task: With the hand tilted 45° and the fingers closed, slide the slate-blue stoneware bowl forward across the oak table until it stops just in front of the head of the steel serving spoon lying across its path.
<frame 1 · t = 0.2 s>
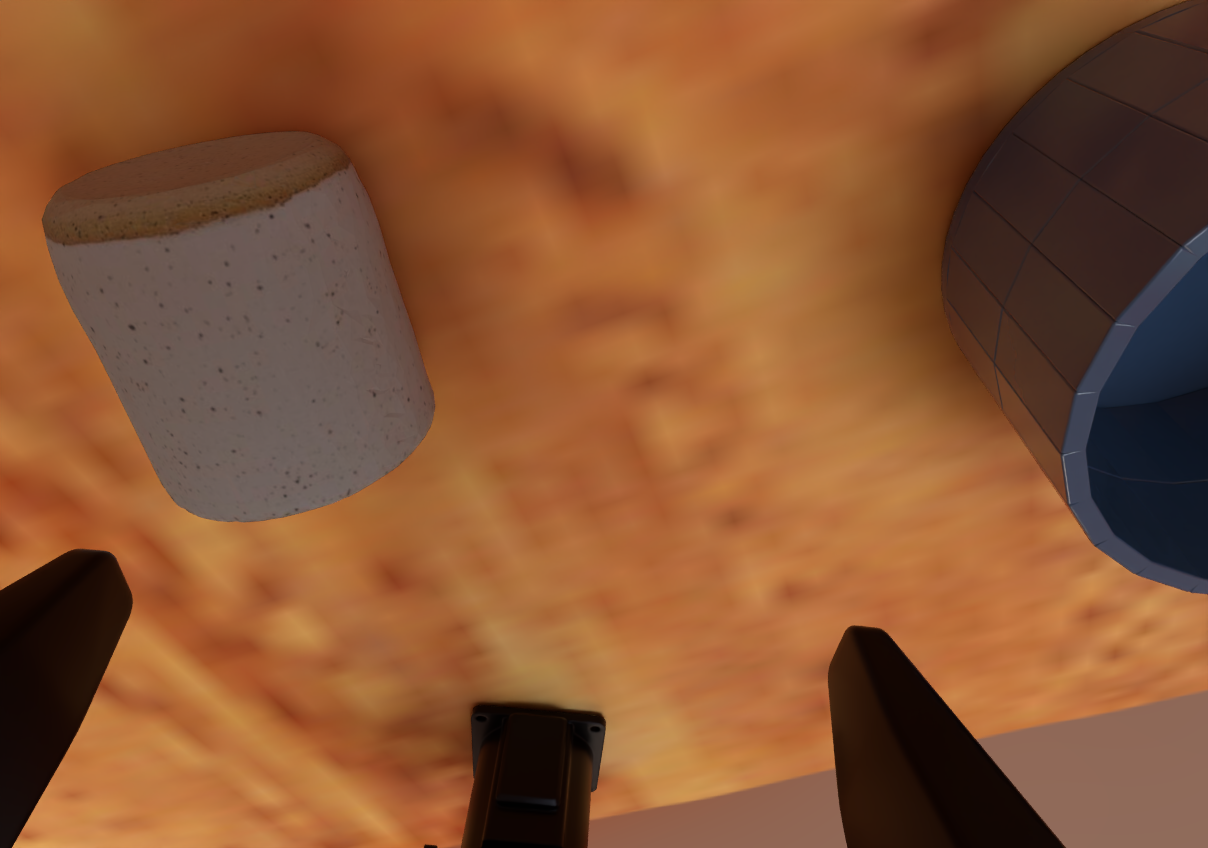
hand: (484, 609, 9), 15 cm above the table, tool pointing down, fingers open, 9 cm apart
bowl: (1165, 232, 21), on the table
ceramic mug: (275, 271, 23), on the table
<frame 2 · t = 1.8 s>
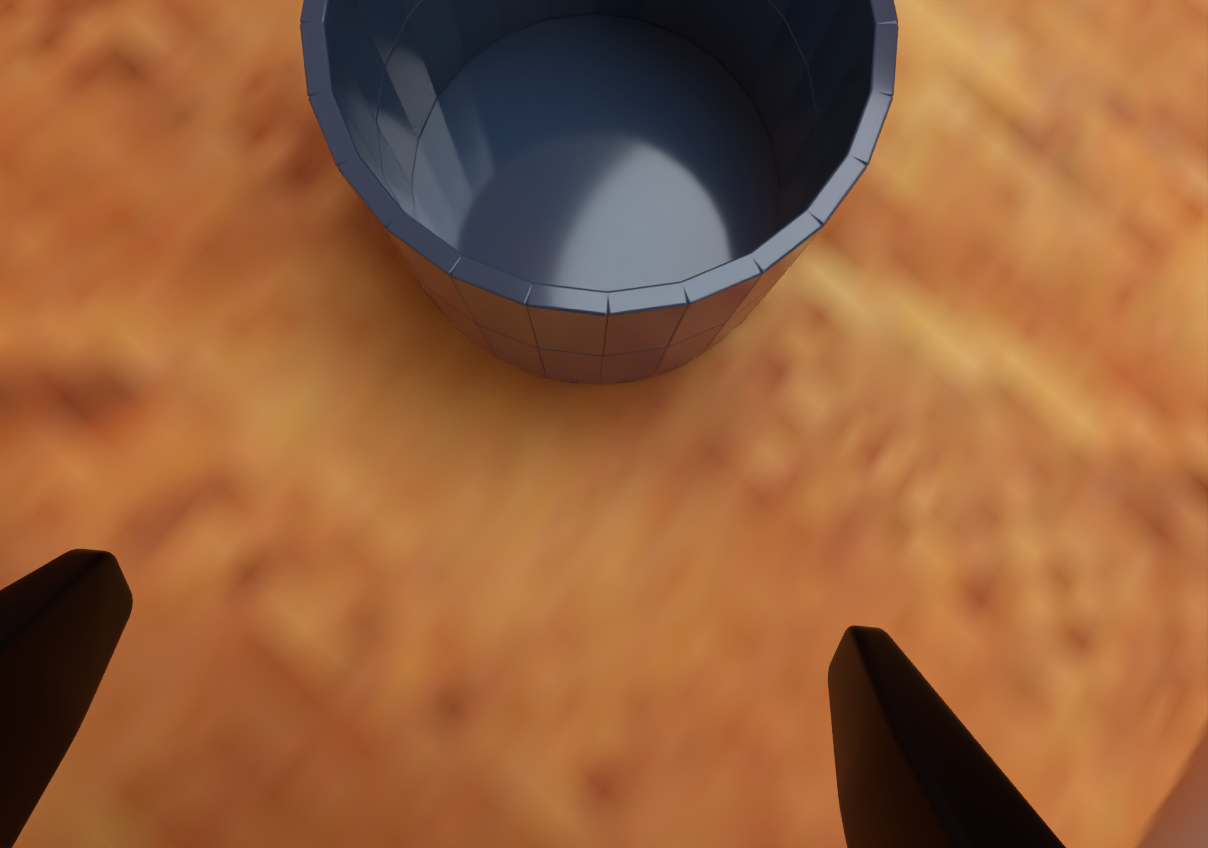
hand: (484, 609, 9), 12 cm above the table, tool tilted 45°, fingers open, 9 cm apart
bowl: (596, 193, 23), on the table
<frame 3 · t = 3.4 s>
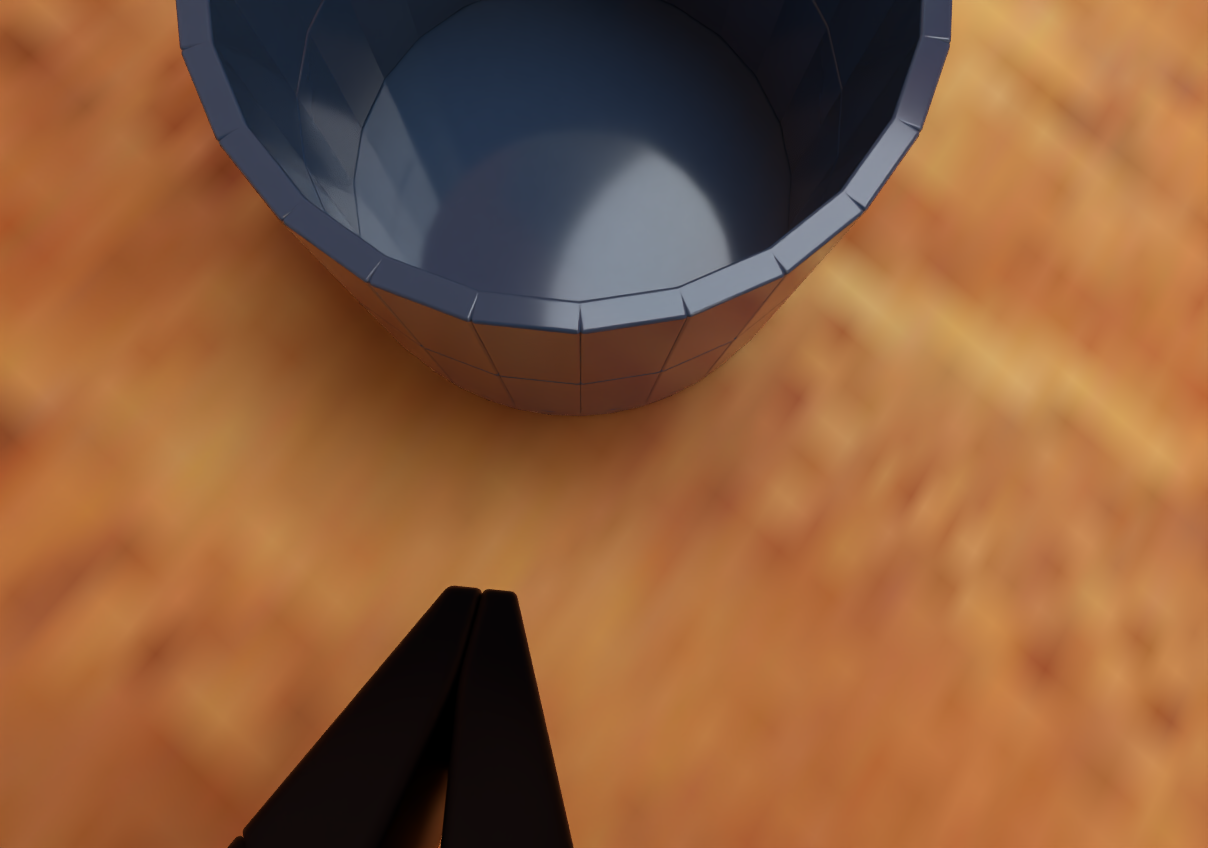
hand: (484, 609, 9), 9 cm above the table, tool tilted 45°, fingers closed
bowl: (574, 190, 19), on the table
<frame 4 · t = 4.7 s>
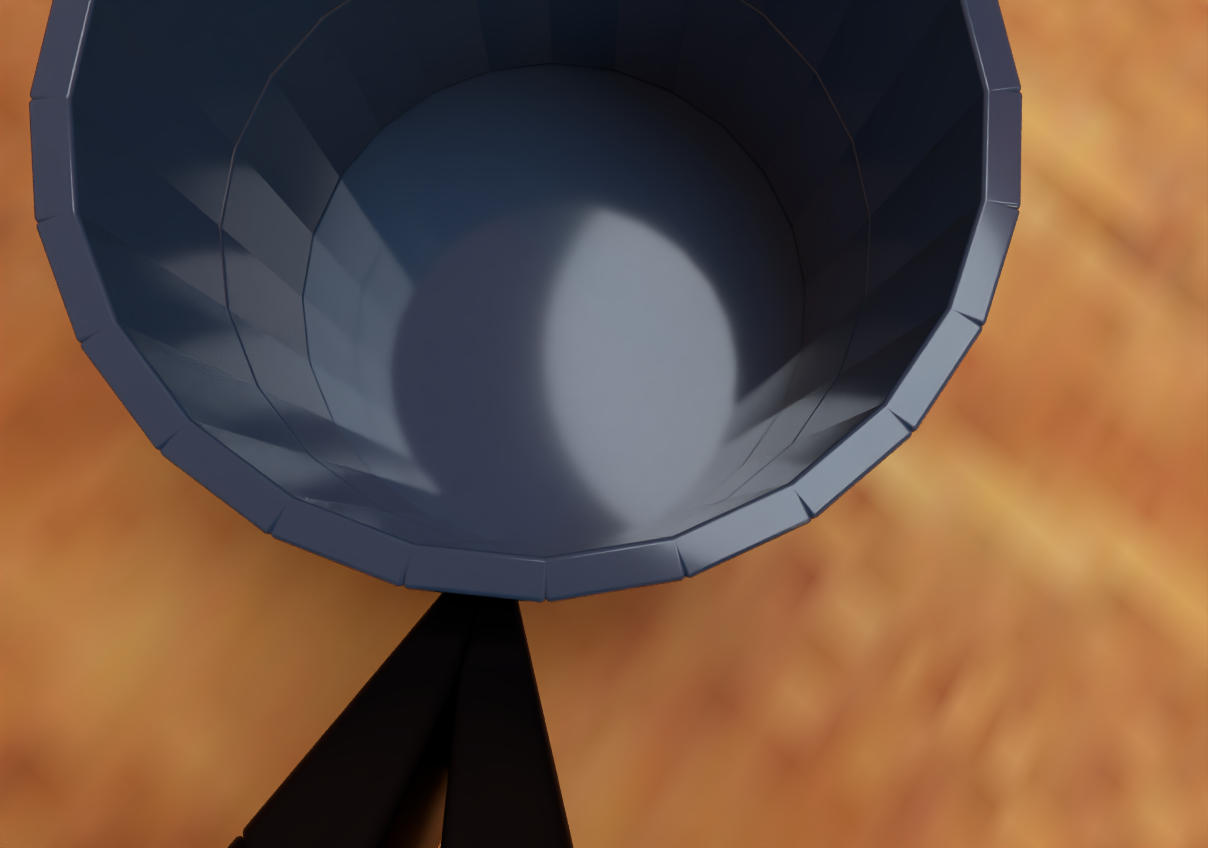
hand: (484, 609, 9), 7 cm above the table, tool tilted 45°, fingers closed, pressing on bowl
bowl: (557, 301, 17), on the table, touching gripper
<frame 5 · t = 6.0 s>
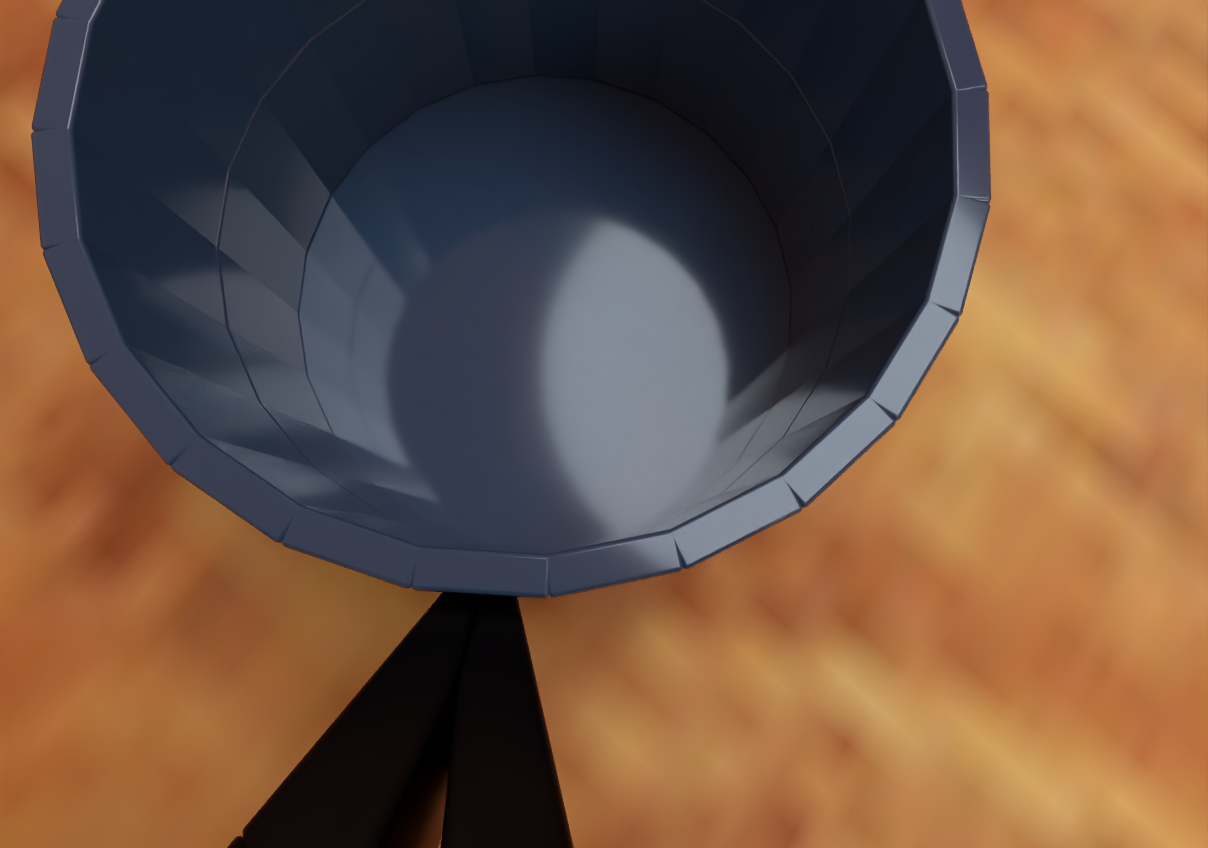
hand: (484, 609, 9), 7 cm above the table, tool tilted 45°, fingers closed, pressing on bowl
bowl: (549, 308, 17), on the table, touching gripper
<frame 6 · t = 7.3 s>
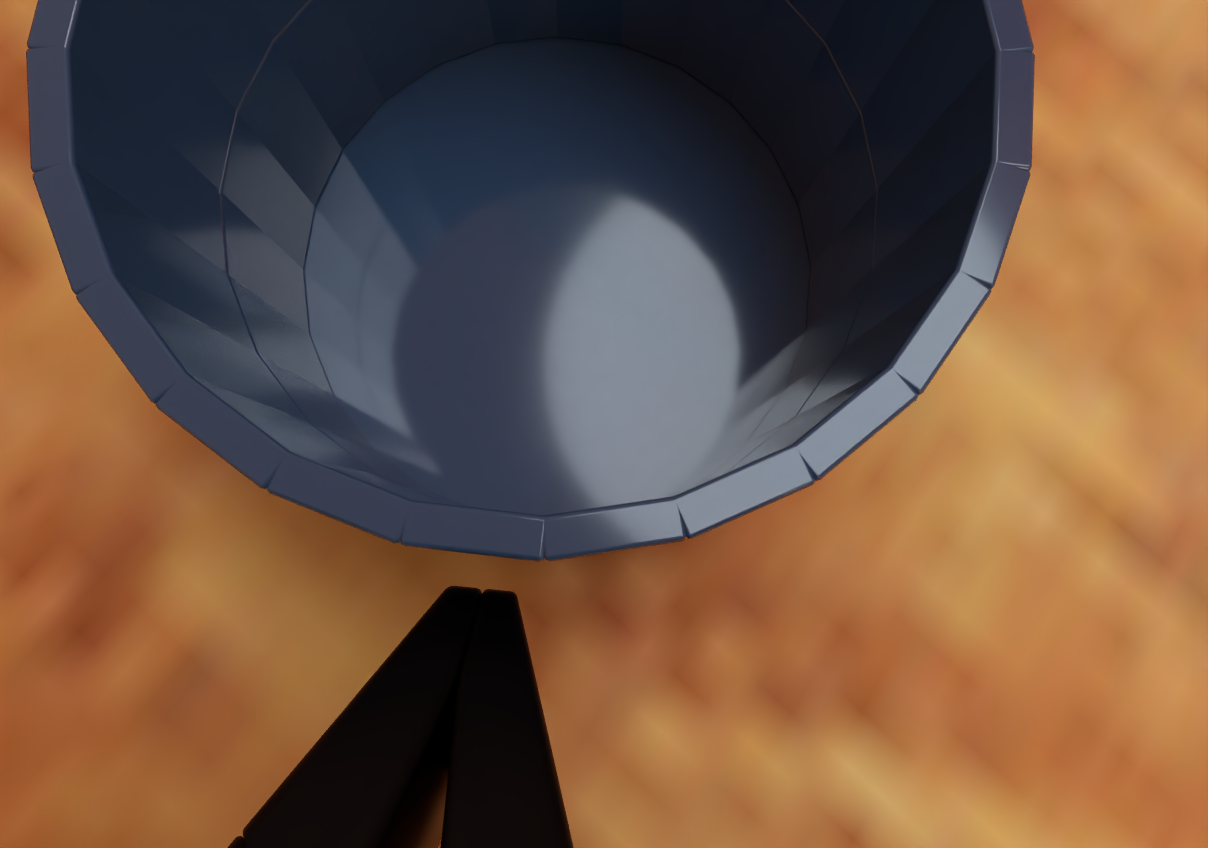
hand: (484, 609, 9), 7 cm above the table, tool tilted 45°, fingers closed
bowl: (560, 277, 17), on the table
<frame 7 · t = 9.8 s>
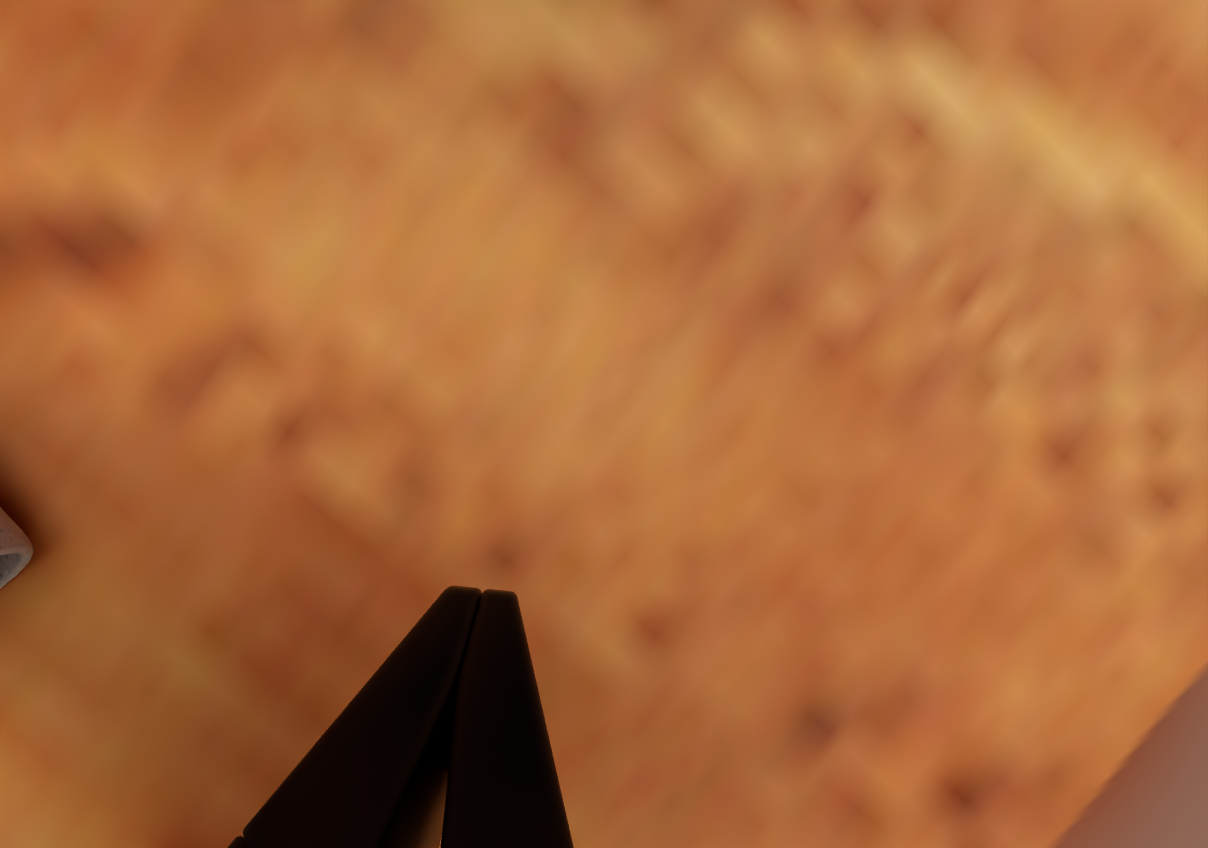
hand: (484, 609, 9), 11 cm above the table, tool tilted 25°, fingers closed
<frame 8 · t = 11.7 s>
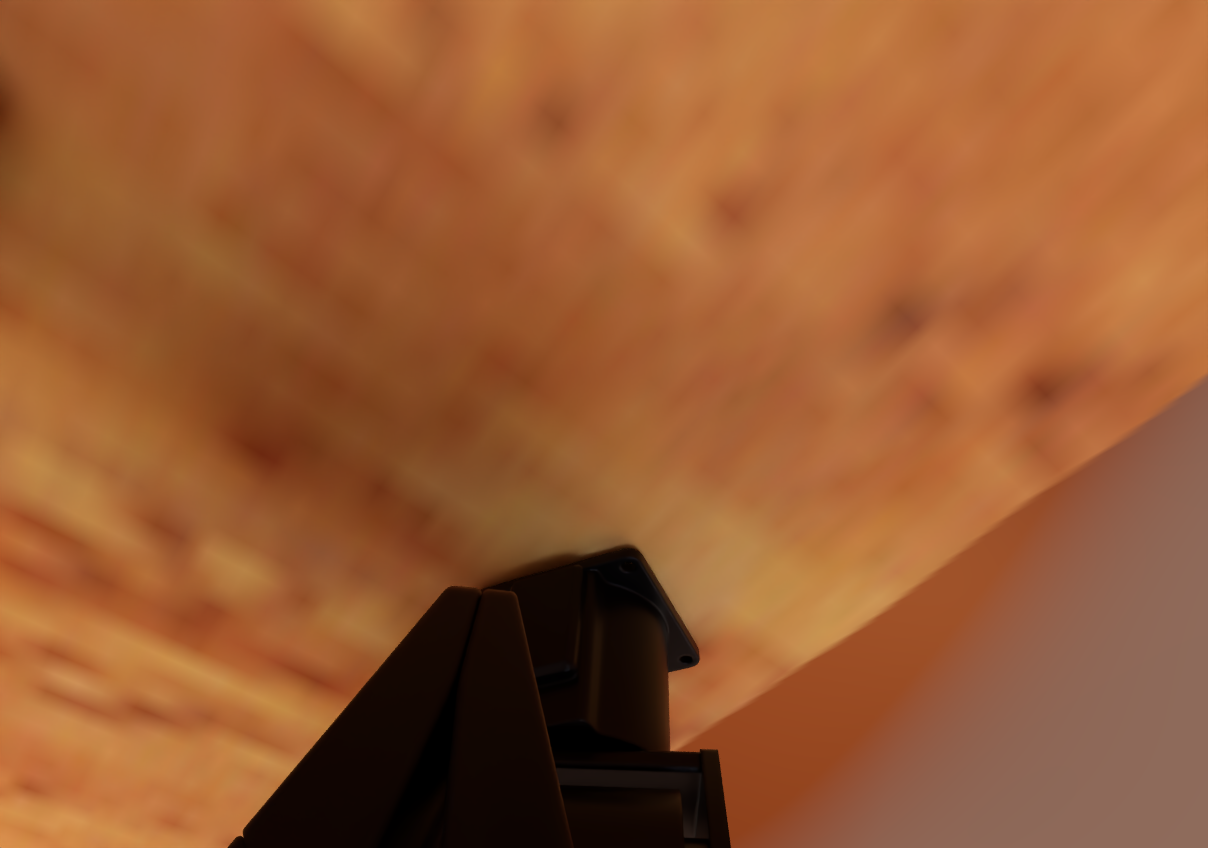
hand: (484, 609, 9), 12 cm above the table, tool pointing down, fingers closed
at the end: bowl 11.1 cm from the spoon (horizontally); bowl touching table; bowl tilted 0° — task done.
